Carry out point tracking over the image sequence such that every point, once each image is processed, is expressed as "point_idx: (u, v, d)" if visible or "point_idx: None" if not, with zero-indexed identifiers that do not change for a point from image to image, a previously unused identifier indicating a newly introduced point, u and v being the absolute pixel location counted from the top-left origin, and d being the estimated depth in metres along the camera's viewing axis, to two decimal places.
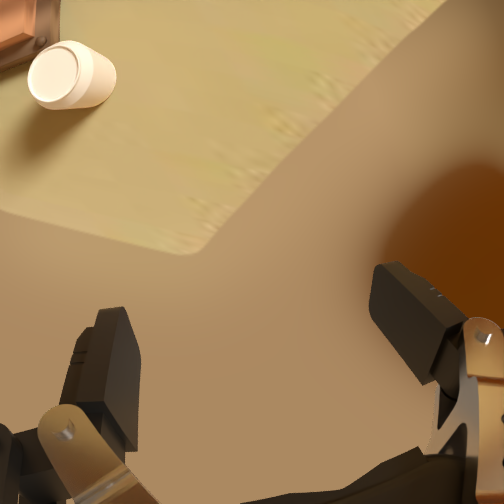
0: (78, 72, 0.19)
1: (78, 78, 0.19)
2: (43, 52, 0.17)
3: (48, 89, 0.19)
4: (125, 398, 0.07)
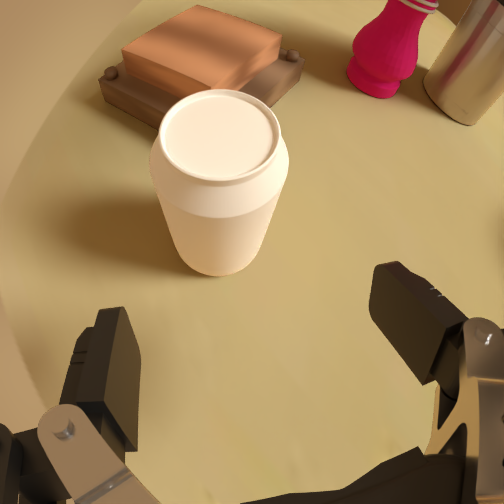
0: (257, 169, 0.12)
1: (251, 175, 0.12)
2: (234, 94, 0.13)
3: (189, 145, 0.12)
4: (125, 398, 0.07)
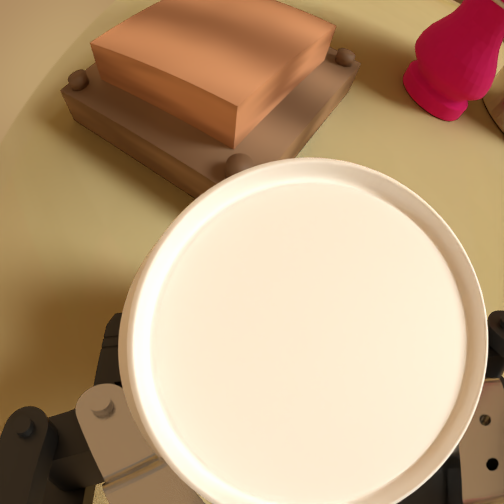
0: (433, 448, 0.03)
1: (423, 479, 0.03)
2: (359, 179, 0.04)
3: (242, 407, 0.03)
4: None
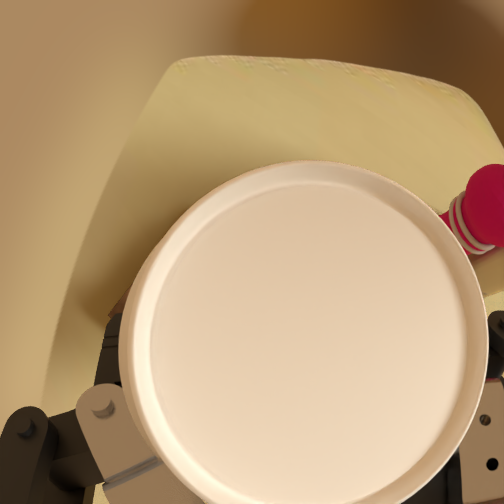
0: (433, 450, 0.03)
1: (423, 481, 0.03)
2: (360, 181, 0.04)
3: (243, 411, 0.03)
4: None
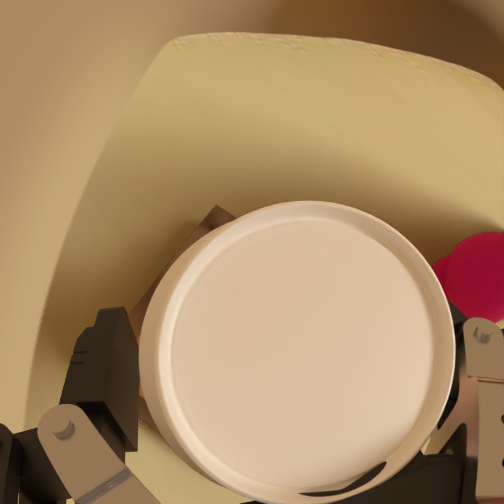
0: (405, 444, 0.04)
1: (396, 469, 0.04)
2: (345, 217, 0.05)
3: (245, 407, 0.04)
4: (125, 398, 0.07)
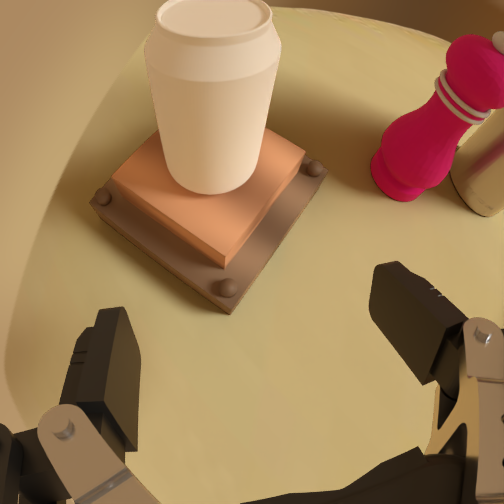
0: (249, 34, 0.10)
1: (243, 36, 0.10)
2: None
3: (183, 21, 0.10)
4: (125, 398, 0.07)
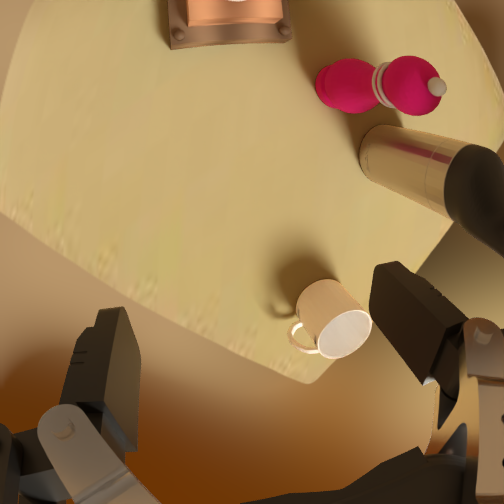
0: None
1: None
2: None
3: None
4: (125, 398, 0.07)
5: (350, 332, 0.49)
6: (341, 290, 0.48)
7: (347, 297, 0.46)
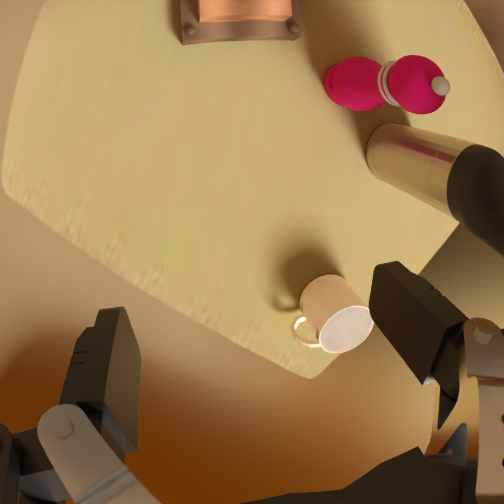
0: None
1: None
2: None
3: None
4: (125, 398, 0.07)
5: (352, 328, 0.50)
6: (345, 286, 0.48)
7: (350, 293, 0.46)
